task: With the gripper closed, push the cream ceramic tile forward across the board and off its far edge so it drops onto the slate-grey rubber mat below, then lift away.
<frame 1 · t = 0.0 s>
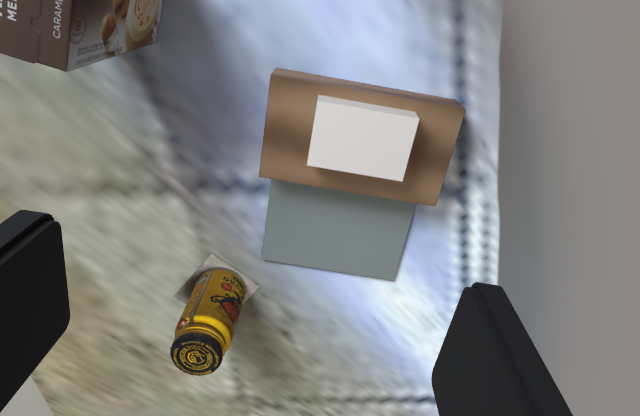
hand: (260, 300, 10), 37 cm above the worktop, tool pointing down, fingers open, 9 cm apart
board: (356, 132, 46), on the worktop
mat: (336, 226, 51), on the worktop
condiment: (217, 289, 56), on the worktop
tile: (360, 134, 42), point 4 cm above the worktop, touching board
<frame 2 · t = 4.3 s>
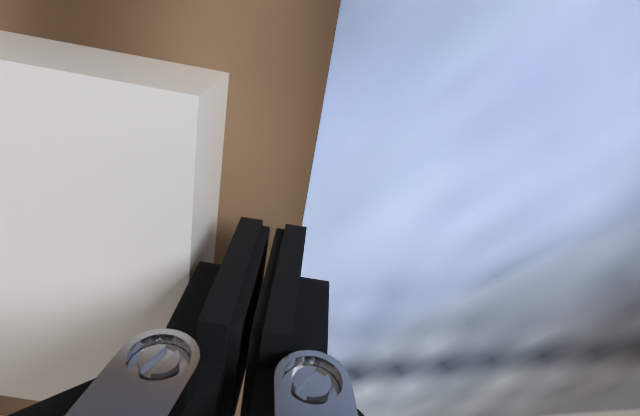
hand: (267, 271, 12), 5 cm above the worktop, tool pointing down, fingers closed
board: (169, 167, 16), on the worktop
tile: (107, 218, 12), point 4 cm above the worktop, touching gripper
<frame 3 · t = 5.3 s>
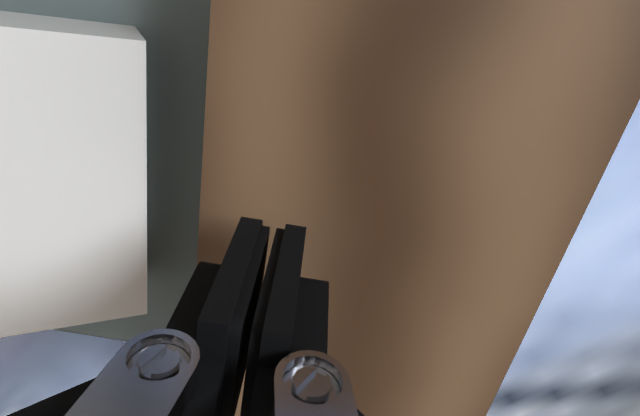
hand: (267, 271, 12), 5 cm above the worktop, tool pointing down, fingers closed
board: (367, 202, 16), on the worktop
mat: (54, 149, 16), on the worktop
tile: (28, 203, 12), point 4 cm above the worktop, tilted 151°, touching mat
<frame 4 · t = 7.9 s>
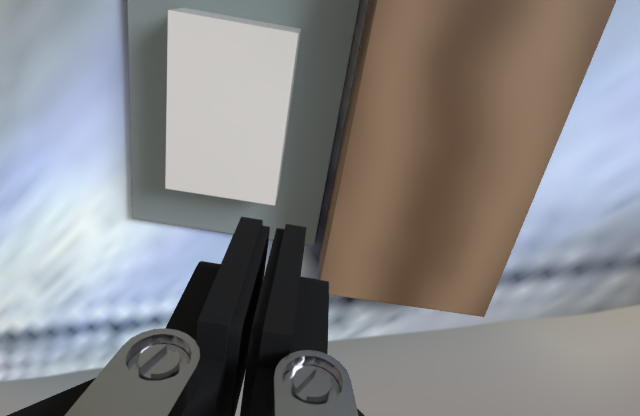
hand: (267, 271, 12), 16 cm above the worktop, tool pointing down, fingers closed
board: (429, 138, 26), on the worktop
mat: (236, 106, 25), on the worktop
tile: (226, 117, 23), point 3 cm above the worktop, tilted 180°, touching mat
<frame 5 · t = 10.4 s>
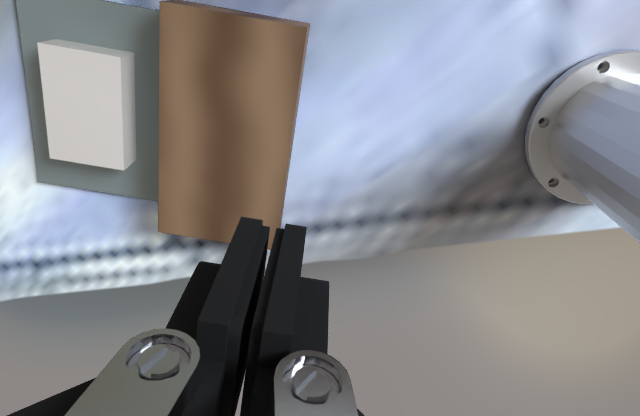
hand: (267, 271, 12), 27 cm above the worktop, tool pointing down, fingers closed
board: (235, 126, 38), on the worktop
mat: (100, 103, 37), on the worktop
tile: (83, 110, 35), point 3 cm above the worktop, tilted 180°, touching mat
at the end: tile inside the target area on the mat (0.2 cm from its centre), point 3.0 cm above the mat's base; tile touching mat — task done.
